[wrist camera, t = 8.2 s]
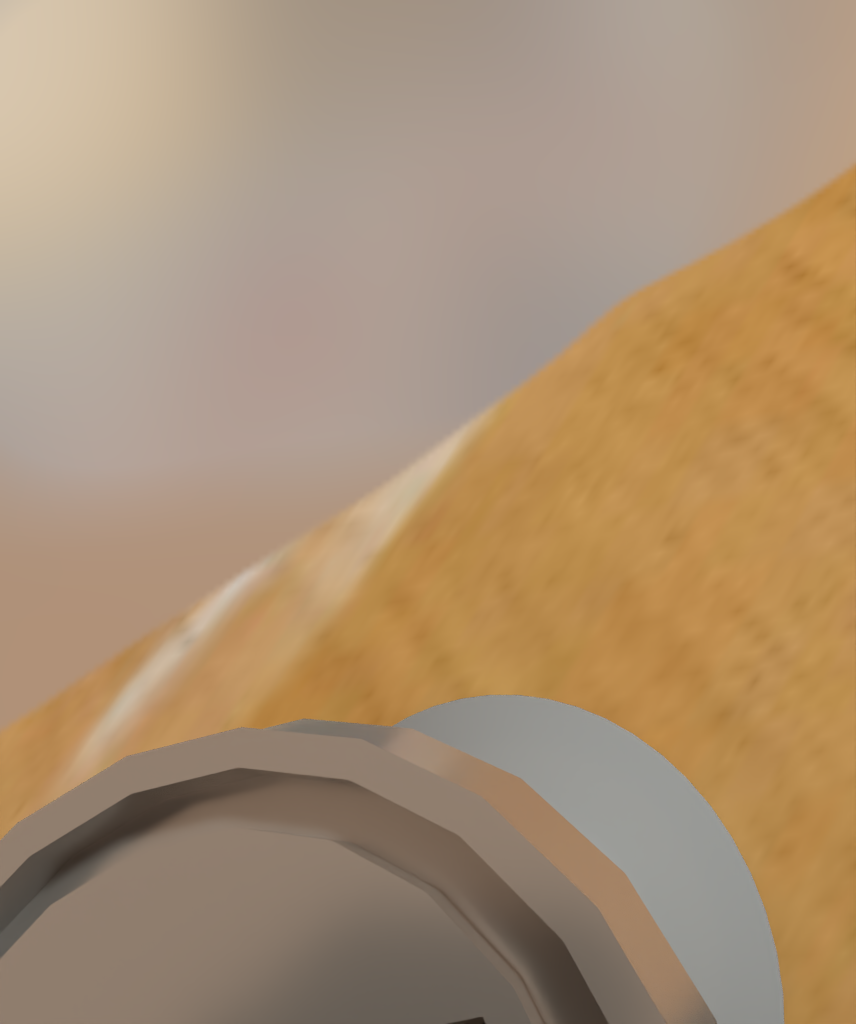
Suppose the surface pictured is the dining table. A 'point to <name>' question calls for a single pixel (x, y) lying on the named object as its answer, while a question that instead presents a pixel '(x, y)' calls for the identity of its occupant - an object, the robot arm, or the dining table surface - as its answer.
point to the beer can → (322, 894)
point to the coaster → (635, 835)
